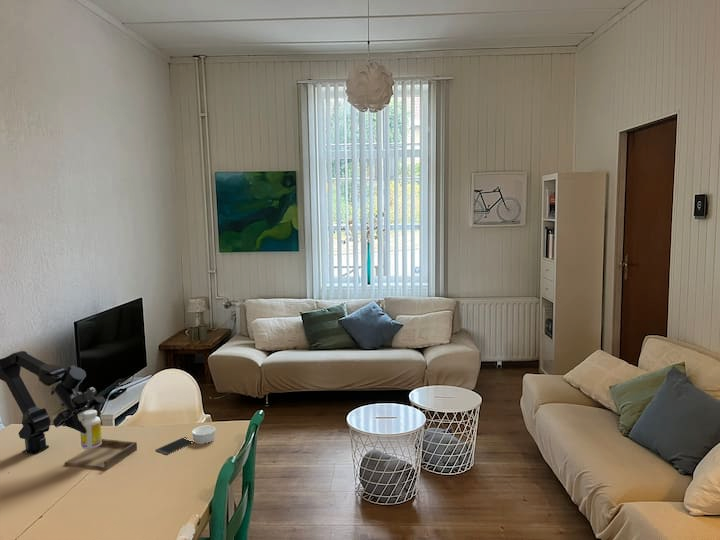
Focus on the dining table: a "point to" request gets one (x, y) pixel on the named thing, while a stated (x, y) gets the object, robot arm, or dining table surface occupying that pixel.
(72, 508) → the dining table surface
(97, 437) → the supplement bottle
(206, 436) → the ramekin
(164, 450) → the cell phone
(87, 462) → the dock board
